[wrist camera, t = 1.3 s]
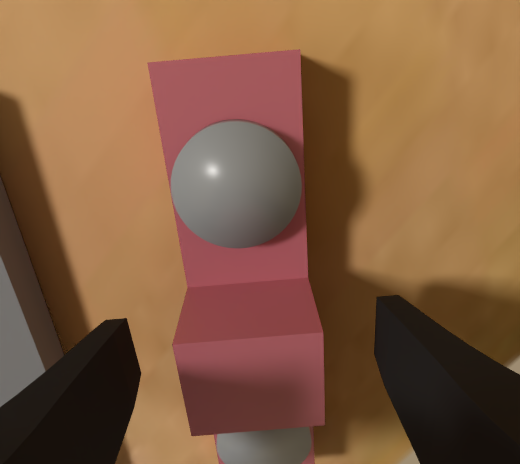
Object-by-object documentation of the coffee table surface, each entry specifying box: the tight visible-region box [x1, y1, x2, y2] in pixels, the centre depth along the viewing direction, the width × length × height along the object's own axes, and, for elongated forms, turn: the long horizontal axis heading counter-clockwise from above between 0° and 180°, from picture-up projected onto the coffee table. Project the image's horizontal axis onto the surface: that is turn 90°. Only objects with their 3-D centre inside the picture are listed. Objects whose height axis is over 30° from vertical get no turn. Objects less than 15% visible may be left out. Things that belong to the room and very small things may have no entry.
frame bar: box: [148, 49, 325, 464], centre depth 12 cm, size 15×4×4 cm, turn 5°
